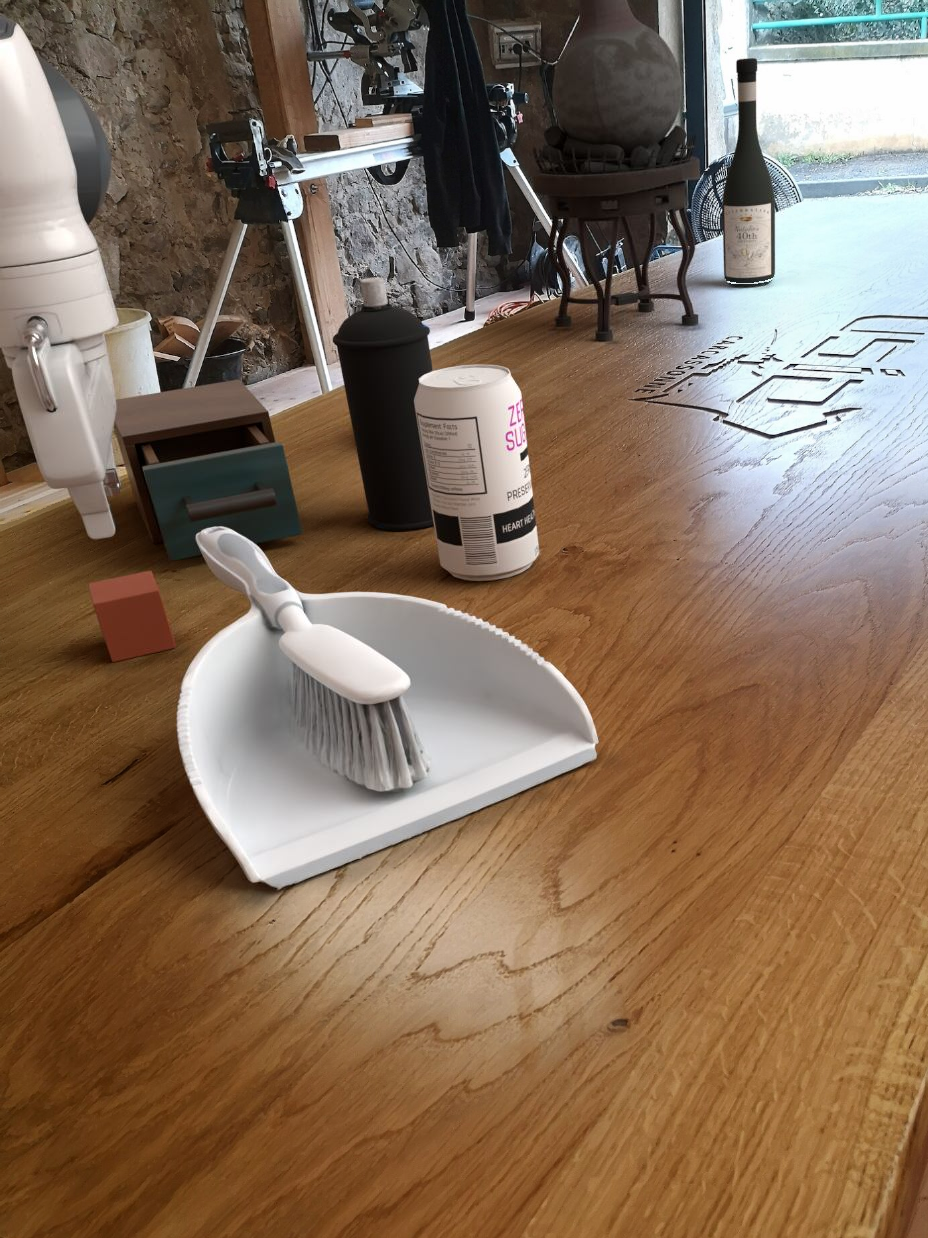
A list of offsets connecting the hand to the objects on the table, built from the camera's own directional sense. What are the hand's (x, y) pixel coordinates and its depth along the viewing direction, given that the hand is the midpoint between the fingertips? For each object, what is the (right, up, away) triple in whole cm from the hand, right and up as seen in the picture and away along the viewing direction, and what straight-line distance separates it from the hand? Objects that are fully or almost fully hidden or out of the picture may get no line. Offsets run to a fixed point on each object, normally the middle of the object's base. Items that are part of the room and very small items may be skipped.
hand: (107, 514), depth 89 cm
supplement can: (+26, 0, +14) cm, 29 cm away
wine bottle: (+55, +66, +108) cm, 139 cm away
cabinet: (-3, +9, +31) cm, 33 cm away
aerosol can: (+17, +7, +26) cm, 32 cm away
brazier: (+36, +52, +89) cm, 109 cm away
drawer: (+1, +4, +22) cm, 23 cm away
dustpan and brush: (+18, -16, -7) cm, 25 cm away
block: (0, -8, +5) cm, 10 cm away
